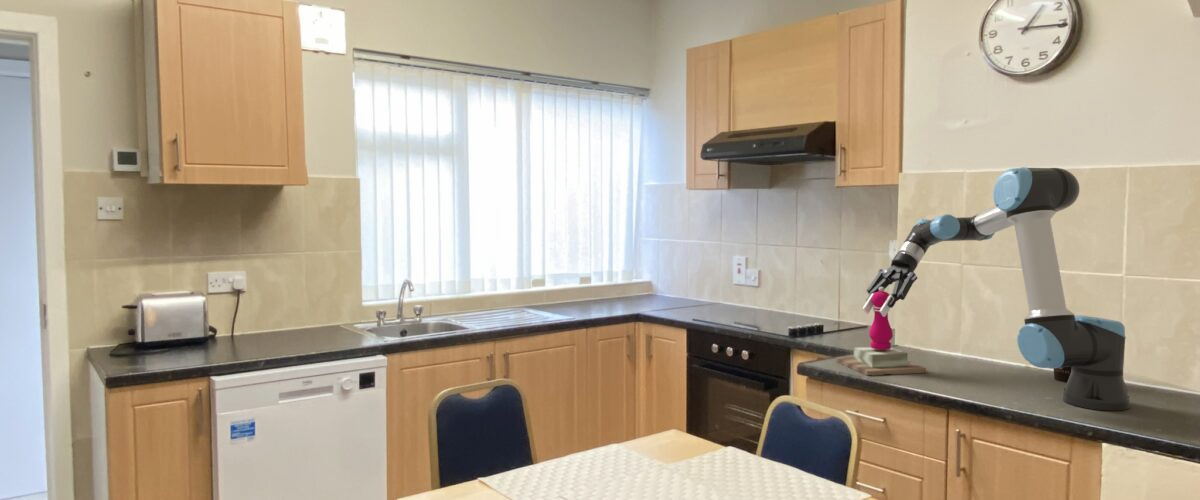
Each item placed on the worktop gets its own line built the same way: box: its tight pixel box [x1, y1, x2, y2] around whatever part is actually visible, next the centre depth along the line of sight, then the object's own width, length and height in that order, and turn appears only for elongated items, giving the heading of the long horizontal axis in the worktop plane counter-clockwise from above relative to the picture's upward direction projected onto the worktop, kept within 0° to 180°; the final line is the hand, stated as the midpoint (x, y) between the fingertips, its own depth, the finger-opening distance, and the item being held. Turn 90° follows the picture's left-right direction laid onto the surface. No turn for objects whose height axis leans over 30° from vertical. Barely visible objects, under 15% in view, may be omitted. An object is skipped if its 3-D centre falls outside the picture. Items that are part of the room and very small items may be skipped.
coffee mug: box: [1052, 367, 1071, 383], centre depth 230 cm, size 12×9×10 cm
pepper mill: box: [868, 287, 894, 350], centre depth 246 cm, size 7×7×20 cm
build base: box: [836, 346, 927, 377], centre depth 247 cm, size 20×20×6 cm
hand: (873, 312), depth 244 cm, fingers closed on pepper mill, 6 cm apart
